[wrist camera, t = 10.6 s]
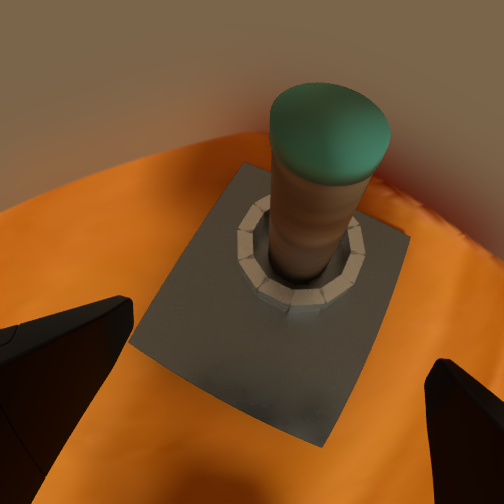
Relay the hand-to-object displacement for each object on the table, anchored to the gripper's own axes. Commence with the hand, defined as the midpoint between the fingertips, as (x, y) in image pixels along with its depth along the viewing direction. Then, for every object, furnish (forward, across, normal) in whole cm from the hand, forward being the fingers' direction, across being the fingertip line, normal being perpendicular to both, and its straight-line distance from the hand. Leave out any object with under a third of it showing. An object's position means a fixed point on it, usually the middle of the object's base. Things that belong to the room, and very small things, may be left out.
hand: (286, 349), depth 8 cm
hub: (+13, 0, +5) cm, 15 cm away
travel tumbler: (+15, 0, +3) cm, 15 cm away
